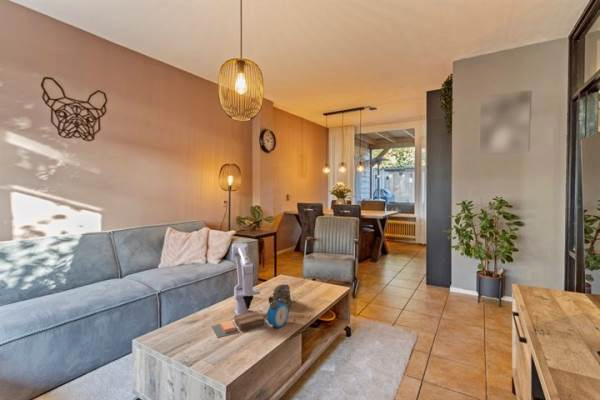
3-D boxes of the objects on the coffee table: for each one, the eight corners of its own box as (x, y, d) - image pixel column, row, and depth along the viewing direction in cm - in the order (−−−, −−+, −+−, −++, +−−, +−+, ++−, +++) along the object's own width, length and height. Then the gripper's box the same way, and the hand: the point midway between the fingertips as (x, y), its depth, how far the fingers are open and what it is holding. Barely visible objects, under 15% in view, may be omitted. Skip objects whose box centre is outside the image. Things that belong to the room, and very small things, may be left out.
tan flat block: (234, 322, 172) (234, 315, 172) (256, 317, 179) (256, 310, 179) (240, 331, 162) (241, 324, 161) (264, 325, 169) (264, 318, 168)
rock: (295, 281, 196) (273, 277, 194) (293, 302, 186) (269, 298, 185) (290, 291, 210) (269, 288, 208) (288, 312, 200) (266, 308, 199)
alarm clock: (274, 331, 162) (274, 305, 161) (266, 328, 166) (266, 302, 165) (289, 322, 172) (289, 297, 171) (281, 319, 176) (281, 295, 175)
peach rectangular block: (230, 320, 169) (230, 323, 169) (220, 322, 166) (220, 326, 167) (235, 327, 162) (235, 330, 162) (224, 329, 159) (224, 333, 159)
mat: (211, 326, 167) (211, 326, 167) (232, 321, 172) (232, 321, 172) (217, 337, 154) (217, 337, 154) (239, 332, 160) (239, 331, 160)
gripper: (237, 289, 162) (237, 313, 162) (262, 285, 169) (262, 308, 170) (233, 285, 168) (233, 308, 169) (257, 281, 175) (257, 303, 176)
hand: (247, 308), depth 169 cm, fingers closed
